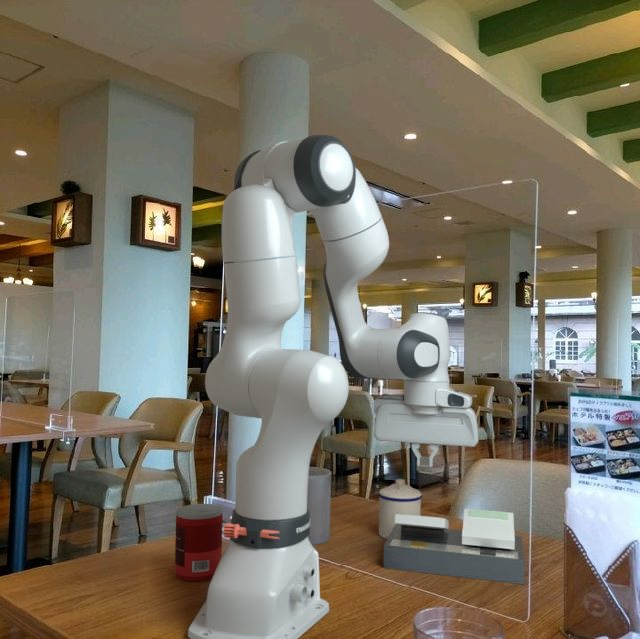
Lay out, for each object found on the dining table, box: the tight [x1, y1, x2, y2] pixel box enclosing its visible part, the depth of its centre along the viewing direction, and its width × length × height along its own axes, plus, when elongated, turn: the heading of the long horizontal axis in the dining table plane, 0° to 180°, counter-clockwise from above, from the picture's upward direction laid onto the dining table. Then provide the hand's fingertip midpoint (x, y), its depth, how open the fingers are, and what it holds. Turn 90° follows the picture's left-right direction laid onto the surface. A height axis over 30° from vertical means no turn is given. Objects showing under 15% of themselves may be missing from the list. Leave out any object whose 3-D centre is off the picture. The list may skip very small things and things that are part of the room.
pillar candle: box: [307, 465, 332, 546], centre depth 128 cm, size 10×10×15 cm
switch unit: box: [383, 524, 526, 585], centre depth 115 cm, size 14×24×5 cm, turn 74°
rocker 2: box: [462, 508, 516, 550], centre depth 115 cm, size 10×9×2 cm
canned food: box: [174, 503, 224, 583], centre depth 108 cm, size 8×8×11 cm
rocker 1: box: [395, 514, 450, 529], centre depth 118 cm, size 10×9×2 cm
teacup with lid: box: [377, 478, 423, 540], centre depth 132 cm, size 12×9×12 cm
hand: (424, 466), depth 122 cm, fingers closed
